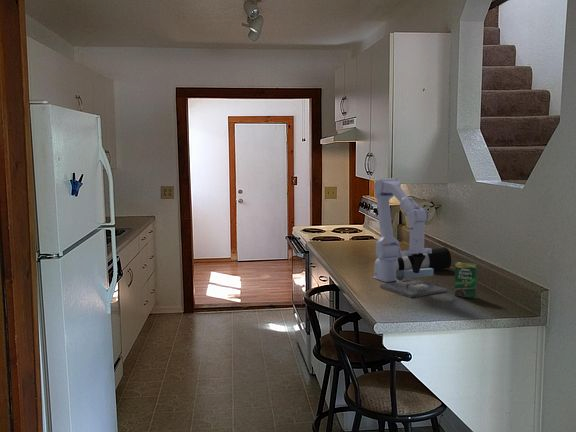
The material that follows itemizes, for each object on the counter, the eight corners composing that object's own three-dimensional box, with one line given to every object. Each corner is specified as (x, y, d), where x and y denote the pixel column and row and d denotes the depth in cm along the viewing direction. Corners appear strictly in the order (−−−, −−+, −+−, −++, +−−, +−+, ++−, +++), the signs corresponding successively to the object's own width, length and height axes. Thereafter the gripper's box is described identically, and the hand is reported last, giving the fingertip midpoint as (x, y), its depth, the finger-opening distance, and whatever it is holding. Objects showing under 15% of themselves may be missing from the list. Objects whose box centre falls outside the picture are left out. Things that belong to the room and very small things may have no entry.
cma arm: (398, 279, 221) (398, 272, 221) (394, 277, 224) (394, 270, 224) (434, 275, 227) (434, 269, 227) (429, 274, 230) (429, 267, 230)
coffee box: (453, 295, 208) (454, 262, 207) (455, 294, 211) (456, 261, 209) (474, 299, 204) (476, 265, 203) (476, 297, 207) (478, 263, 205)
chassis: (380, 287, 221) (380, 280, 221) (414, 281, 230) (415, 274, 230) (410, 297, 206) (411, 290, 205) (446, 291, 215) (446, 284, 215)
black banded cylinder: (377, 280, 252) (373, 259, 255) (445, 270, 257) (439, 250, 260) (383, 275, 242) (378, 253, 246) (453, 264, 247) (447, 244, 251)
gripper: (410, 241, 206) (409, 276, 207) (437, 238, 213) (436, 272, 215) (397, 239, 212) (396, 273, 213) (424, 236, 219) (424, 269, 221)
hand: (416, 272), depth 214 cm, fingers closed
